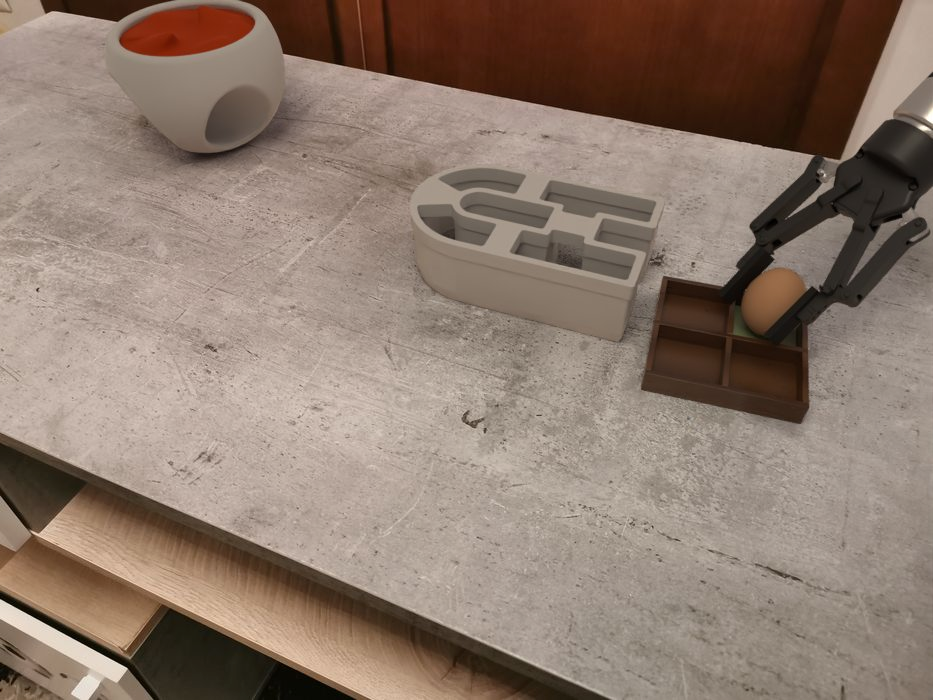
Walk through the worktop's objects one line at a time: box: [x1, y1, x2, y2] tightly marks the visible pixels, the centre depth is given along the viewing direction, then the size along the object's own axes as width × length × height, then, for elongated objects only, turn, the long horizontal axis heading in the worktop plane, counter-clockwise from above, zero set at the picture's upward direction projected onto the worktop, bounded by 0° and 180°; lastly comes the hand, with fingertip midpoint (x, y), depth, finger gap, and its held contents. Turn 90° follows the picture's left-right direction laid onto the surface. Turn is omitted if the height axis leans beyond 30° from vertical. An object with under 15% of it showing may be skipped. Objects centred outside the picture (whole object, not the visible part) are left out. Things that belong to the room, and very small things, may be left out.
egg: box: [741, 267, 808, 337], centre depth 77 cm, size 6×6×8 cm
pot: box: [104, 0, 286, 154], centre depth 106 cm, size 24×24×18 cm
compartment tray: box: [640, 275, 810, 425], centre depth 78 cm, size 16×16×3 cm
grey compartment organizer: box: [409, 163, 666, 343], centre depth 86 cm, size 17×28×9 cm, turn 68°
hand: (746, 318), depth 76 cm, fingers closed on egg, 6 cm apart
